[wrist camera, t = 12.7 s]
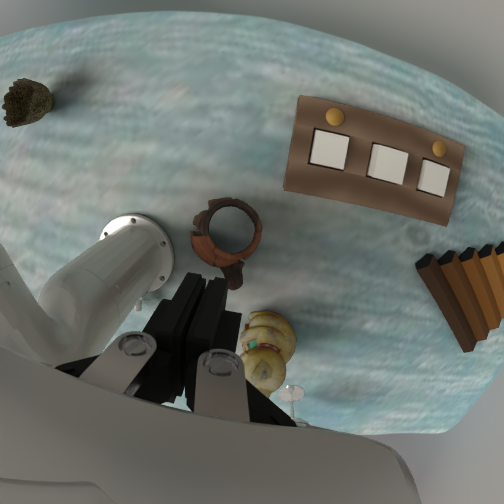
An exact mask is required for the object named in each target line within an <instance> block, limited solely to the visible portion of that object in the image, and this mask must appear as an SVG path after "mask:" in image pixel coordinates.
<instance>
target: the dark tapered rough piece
mask: <svg viewBox="0 0 504 504" xmlns="http://www.w3.org/2000/svg"><path fill="white" fill-rule="evenodd" d="M13 85H14V86H12V87H9V92H8V93H7V94H6V95H5V96H4V102H5V104H3V105H2V109H4V110H5V109H6V114H7V116H5V117H4V120H5V121H7V122H6V124H7V126H12V128H14V127H18V126H22V125H27V124H31V123H34V122H36V121H38V120H40V119H41V118H42V117H43V116H44V115H45V114H46V113H48V112H49V111H50V110H51V109H52V108H53V105H54V97H53V95H52V94H51V93H50V92H49V90H48V88H47V87H46V86H45V85H43V84H41V83H39V82H35V81H32V80H28V79H25V78H23V79H18V80H17V81H15V82H13Z"/></svg>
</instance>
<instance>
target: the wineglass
mask: <svg viewBox="0 0 504 504" xmlns="http://www.w3.org/2000/svg"><path fill="white" fill-rule="evenodd" d="M278 395H279V397H280V399H282V400H283V401H287V402H290V417H291V418H292V419H293V420H294V422H295V423H296V425H298V426H302V427H305V425H306V424H308V425H310V424H309V423H308V422H306V421H305V420H303V419H301V418H296V417H294V407H293V402H294V401H298V400H300V399H301V398H302V397H303V396H304V390H303V389H302V388H301V387H299V386H294V385H290V386H286V387H283V388H282V389H281V390H280V391H279V393H278Z"/></svg>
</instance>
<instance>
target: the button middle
mask: <svg viewBox="0 0 504 504" xmlns="http://www.w3.org/2000/svg"><path fill="white" fill-rule="evenodd" d="M407 159H408V153H405V152H402V151H399V150H396V149H392V148H389V147H385V146H382V145H376V144H373V146H372V152H371V157H370V162H369V167H368V172H367V175H369V176H372V177H374V178H378V179H382V180H386V181H390V182H393V183H397V184H401V185H402V183H403V178H404V173H405V169H406V164H407Z"/></svg>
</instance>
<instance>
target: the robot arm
mask: <svg viewBox="0 0 504 504" xmlns="http://www.w3.org/2000/svg"><path fill="white" fill-rule="evenodd" d="M135 219H136V220H135ZM164 242H165V243H164ZM173 266H174V252H173V247H172V244H171V242H170V240H169V238H168V236H167V234H166V233H165V232H164V230H163V229H162V228H161V227H160V226H159V225H158V224H157V223H156V222H154V221H153V220H151V219H150V218H148V217H145V216H143V215H139V214H124V215H121V216H119V217H117V218H115V219H113V220H112V221H110V222H109V223H108V224H107V225H106V226H105V228H104V229H103V231H102V233H101V236H100V240H99V242H97V243H96V244H94V245H93V246H92V247H90V248H89V249H87V250H86V251H84V252H83V253H82V254H80V255H79V256H78V257H76V258H75V259H73V260H72V261H71V262H69V263H68V264H67V265H65V266H64V267H63V268H61V269H60V270H58V271H57V272H56V273H55V274H54V275H52V276H51V277H50V278H49V280H48V281H47V282H46V284H45V285H44V287H43V289H42V292H41V294H40V297H39V300H38V303H37V301H36V300H35V298H34V297H33V295H32V294H31V292H30V290H29V289H28V287H27V286H26V284H25V282H24V281H23V279H22V278H21V276H20V274H19V272H18V271H17V269H16V267H15V266H14V264H13V262H12V260H11V259H10V257H9V255H8V254H7V252H6V250H5V249H4V247H3V246H2V244H1V243H0V504H421V500H420V497H419V493H418V490H417V487H416V484H415V481H414V478H413V476H412V474H411V471H410V469H409V467H408V465H407V463H406V461H405V460H404V459H403V458H402V456H401V455H400V454H399V453H398V452H397V451H396V450H394V449H393V448H392V447H390V446H388V445H386V444H384V443H382V442H379V441H377V440H373V439H370V438H367V437H364V436H360V435H355V434H350V433H345V432H338V431H334V430H329V429H325V428H320V427H316V426H312V425H308V424H306V425H305V427H302V426H298V425H296V423H295V422H294V420H293V419H292V418H291V417H290V416H288V415H287V414H286V413H285V412H284V411H282V410H281V409H280V408H279V407H278V406H276V405H275V404H274V403H273V402H272V401H271V400H269V399H268V398H267V397H266V396H265V395H264V394H263V393H261V392H260V391H259V390H258V389H257V388H256V387H255V386H254V385H252V384H251V383H250V382H249V381H248V380H247V379H246V378H245V369H244V363H243V360H242V359H241V358H240V357H239V356H238V355H237V354H235V352H236V346H237V340H238V334H239V328H240V322H241V316H242V313H237V312H231V311H226V310H225V307H226V299H227V291H228V283H229V279H224V278H218V277H215V279H214V280H209V282H208V284H207V287H206V279H203V278H202V275H201V274H195V273H190V272H188V273H187V275H186V276H185V278H184V280H183V281H182V283H181V285H180V286H179V288H178V290H177V291H176V293H175V295H174V297H173V298H172V300H167V299H162V301H161V302H160V304H159V305H158V307H157V308H156V310H155V311H154V313H153V315H152V316H151V318H150V320H149V321H148V323H147V324H146V326H145V328H144V329H143V331H142V332H140V331H131V332H126V333H124V334H121V335H120V336H118V337H117V338H116V339H115V340H114V341H113V342H112V343H111V344H110V345H109V346H108V347H107V348H106V349H105V347H106V345H107V344H108V342H109V341H110V340H111V338H112V337H113V335H114V334H115V333H116V331H117V329H118V328H119V327H120V325H121V324H122V323H123V321H124V320H125V318H126V317H127V316H128V314H129V313H130V312H131V310H132V309H134V310H135V311H141V310H142V302H141V300H142V298H143V297H144V296H145V294H146V293H148V292H152V291H155V290H157V289H158V288H160V287H161V286H162V285H164V284H165V283H166V281H167V280H168V278H169V277H170V275H171V273H172V270H173ZM163 276H164V277H163ZM205 287H206V289H205ZM104 349H105V350H104ZM103 350H104V351H103ZM102 352H103V353H102ZM101 353H102V354H101ZM184 387H185V398H187V406H188V407H189V408H190V410H191V411H192V412H191V411H186V410H182V409H178V408H173V407H169V406H165V405H161V404H162V403H165V402H170V403H174V402H175V399H176V396H180V397H181V396H182V393H183V390H184Z"/></svg>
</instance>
